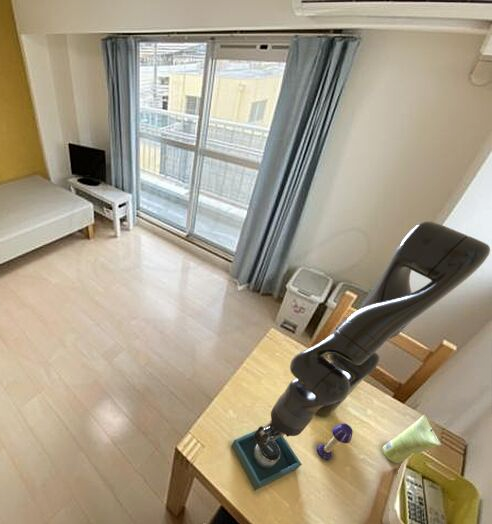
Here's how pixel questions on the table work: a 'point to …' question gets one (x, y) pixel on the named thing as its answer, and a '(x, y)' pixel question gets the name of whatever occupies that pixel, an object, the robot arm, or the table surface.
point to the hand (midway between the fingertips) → (273, 438)
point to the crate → (257, 474)
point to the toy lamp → (335, 440)
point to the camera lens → (266, 454)
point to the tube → (411, 441)
